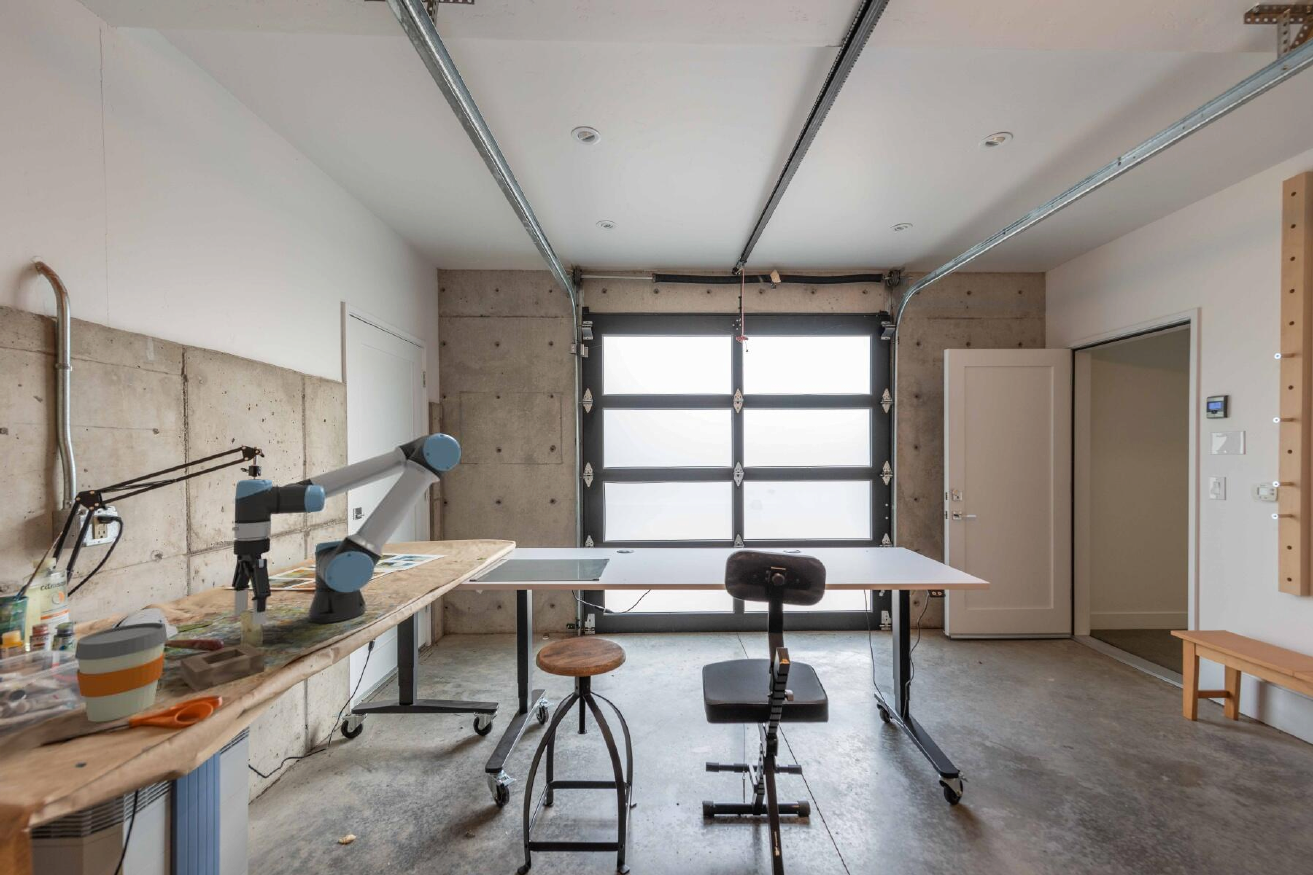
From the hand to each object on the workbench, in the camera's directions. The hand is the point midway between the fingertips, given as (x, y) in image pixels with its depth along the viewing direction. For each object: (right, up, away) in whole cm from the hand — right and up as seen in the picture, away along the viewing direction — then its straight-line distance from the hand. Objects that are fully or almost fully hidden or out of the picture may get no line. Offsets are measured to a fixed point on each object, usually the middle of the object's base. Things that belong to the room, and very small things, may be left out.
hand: (249, 619), depth 133 cm
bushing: (0, -7, 0) cm, 7 cm away
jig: (+8, -6, -17) cm, 20 cm away
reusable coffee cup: (+1, -6, -33) cm, 33 cm away
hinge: (-30, -8, +2) cm, 31 cm away
